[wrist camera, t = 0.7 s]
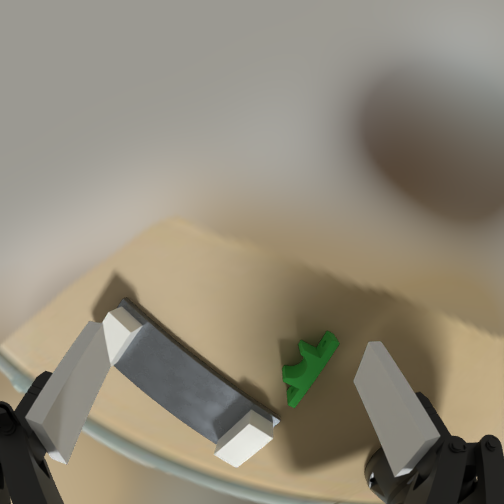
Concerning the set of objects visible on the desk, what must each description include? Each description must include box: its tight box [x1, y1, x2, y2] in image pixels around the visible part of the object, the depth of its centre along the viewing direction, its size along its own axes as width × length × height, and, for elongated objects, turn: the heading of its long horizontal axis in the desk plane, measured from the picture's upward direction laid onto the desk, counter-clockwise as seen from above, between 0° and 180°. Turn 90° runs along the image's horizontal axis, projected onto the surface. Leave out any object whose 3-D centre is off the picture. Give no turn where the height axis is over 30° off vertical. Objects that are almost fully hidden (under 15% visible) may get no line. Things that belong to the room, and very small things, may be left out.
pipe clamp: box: [282, 331, 340, 408], centre depth 36 cm, size 10×4×4 cm, turn 151°
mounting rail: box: [102, 297, 281, 468], centre depth 37 cm, size 28×10×5 cm, turn 51°
